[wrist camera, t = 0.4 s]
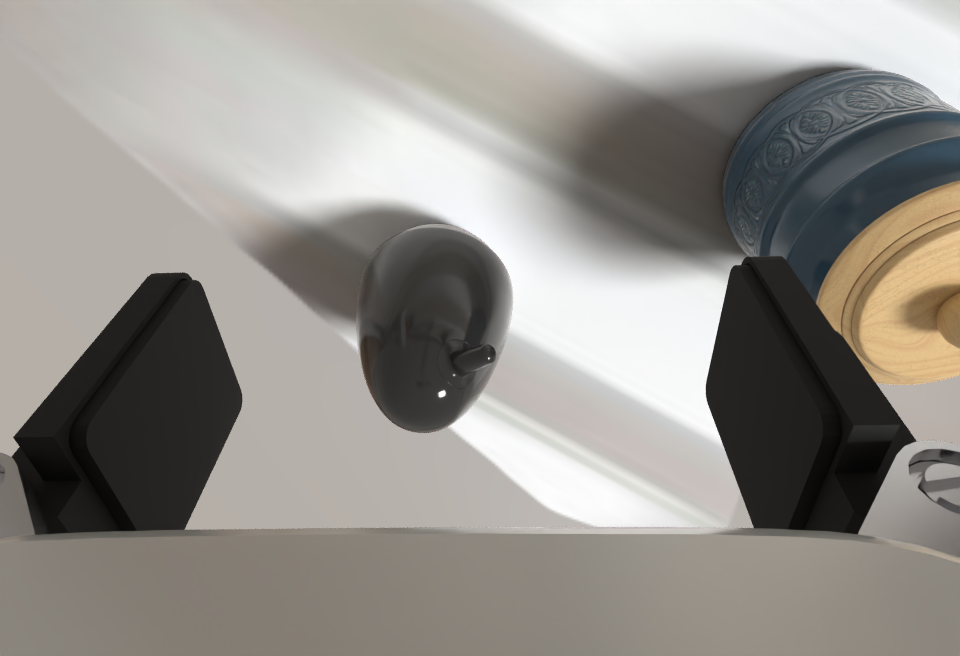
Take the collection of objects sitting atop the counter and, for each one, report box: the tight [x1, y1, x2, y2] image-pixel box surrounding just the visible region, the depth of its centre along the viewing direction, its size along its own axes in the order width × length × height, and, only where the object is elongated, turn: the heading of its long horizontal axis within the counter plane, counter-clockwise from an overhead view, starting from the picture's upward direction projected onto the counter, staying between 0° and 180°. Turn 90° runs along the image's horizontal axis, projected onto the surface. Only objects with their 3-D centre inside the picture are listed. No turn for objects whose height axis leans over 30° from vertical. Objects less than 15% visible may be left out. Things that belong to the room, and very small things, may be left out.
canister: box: [723, 69, 960, 385], centre depth 33 cm, size 13×13×18 cm
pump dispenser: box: [356, 224, 513, 433], centre depth 39 cm, size 10×10×15 cm
